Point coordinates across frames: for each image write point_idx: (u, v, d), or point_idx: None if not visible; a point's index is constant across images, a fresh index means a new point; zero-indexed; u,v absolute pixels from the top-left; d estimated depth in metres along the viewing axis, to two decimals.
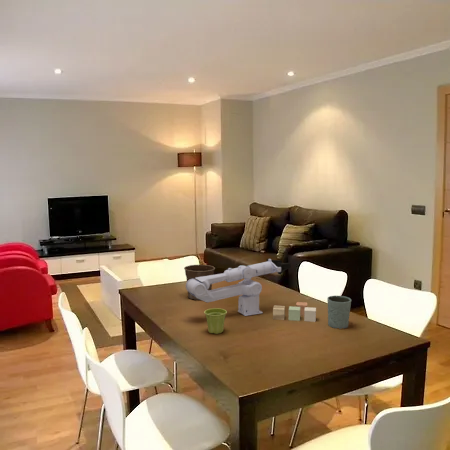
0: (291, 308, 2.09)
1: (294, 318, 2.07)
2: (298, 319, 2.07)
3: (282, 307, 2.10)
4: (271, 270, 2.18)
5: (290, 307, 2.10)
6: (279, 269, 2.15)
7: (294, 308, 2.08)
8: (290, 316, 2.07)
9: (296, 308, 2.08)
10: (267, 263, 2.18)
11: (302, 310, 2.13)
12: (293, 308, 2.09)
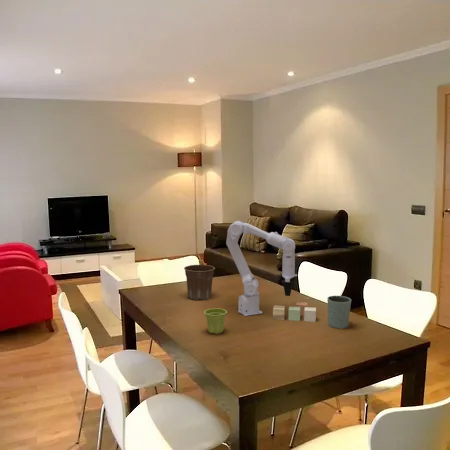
0: (291, 308, 2.09)
1: (294, 318, 2.07)
2: (298, 319, 2.07)
3: (282, 307, 2.10)
4: (286, 274, 2.11)
5: (290, 307, 2.10)
6: (287, 280, 2.07)
7: (294, 308, 2.08)
8: (290, 316, 2.07)
9: (296, 308, 2.08)
10: (293, 271, 2.12)
11: (302, 310, 2.13)
12: (293, 308, 2.09)
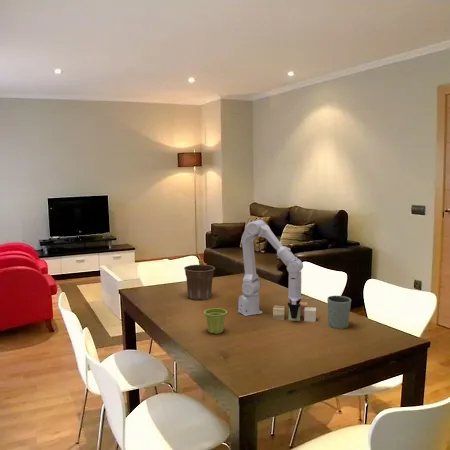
0: None
1: None
2: (298, 319, 2.07)
3: (282, 307, 2.10)
4: (292, 296, 2.06)
5: None
6: (294, 302, 2.01)
7: None
8: (290, 316, 2.07)
9: None
10: (300, 293, 2.06)
11: (302, 310, 2.13)
12: None
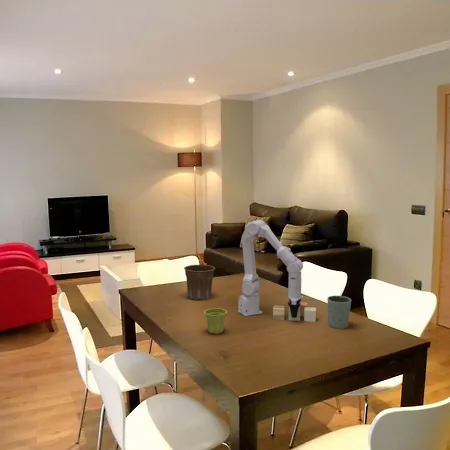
0: None
1: (294, 318, 2.07)
2: (298, 319, 2.07)
3: (282, 307, 2.10)
4: (292, 296, 2.06)
5: None
6: (294, 302, 2.01)
7: None
8: (290, 316, 2.07)
9: None
10: (300, 293, 2.06)
11: (302, 310, 2.13)
12: None
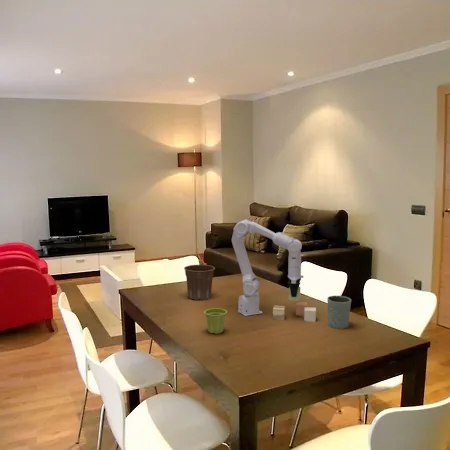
0: None
1: (294, 298, 2.10)
2: (298, 298, 2.09)
3: (282, 307, 2.10)
4: (292, 275, 2.08)
5: None
6: (294, 281, 2.04)
7: None
8: (290, 296, 2.10)
9: None
10: (299, 272, 2.09)
11: (302, 310, 2.13)
12: None
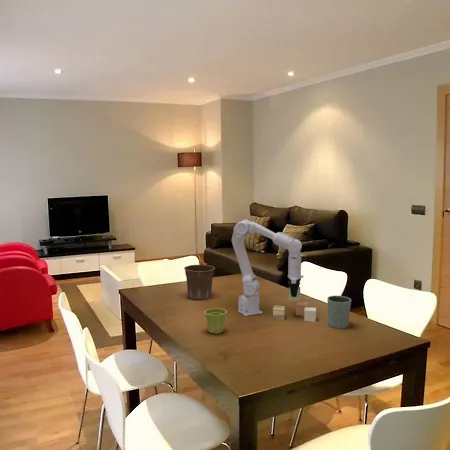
0: None
1: (294, 297, 2.10)
2: (298, 298, 2.09)
3: (282, 307, 2.10)
4: (292, 275, 2.08)
5: None
6: (294, 281, 2.04)
7: None
8: (290, 296, 2.10)
9: None
10: (299, 272, 2.09)
11: (302, 310, 2.13)
12: None
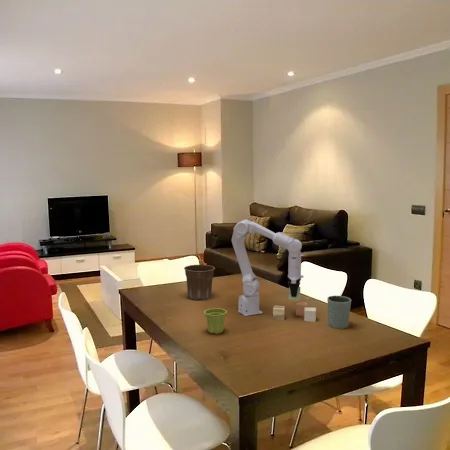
0: None
1: (294, 297, 2.10)
2: (298, 298, 2.09)
3: (282, 307, 2.10)
4: (292, 275, 2.08)
5: None
6: (294, 281, 2.04)
7: None
8: (290, 296, 2.10)
9: None
10: (299, 272, 2.09)
11: (302, 310, 2.13)
12: None
